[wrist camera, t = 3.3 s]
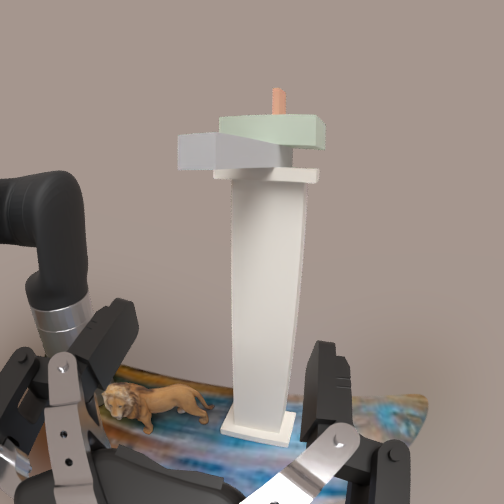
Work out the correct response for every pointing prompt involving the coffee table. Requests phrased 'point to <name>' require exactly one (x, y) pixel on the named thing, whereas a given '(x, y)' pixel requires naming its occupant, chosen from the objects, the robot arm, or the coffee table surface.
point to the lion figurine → (152, 402)
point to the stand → (265, 296)
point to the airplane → (252, 140)
